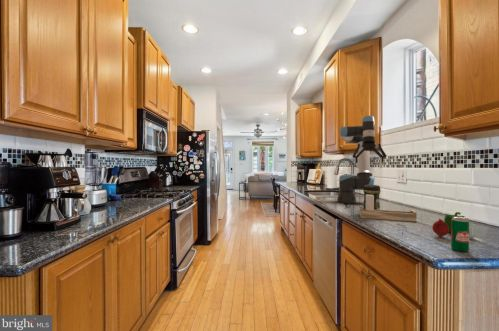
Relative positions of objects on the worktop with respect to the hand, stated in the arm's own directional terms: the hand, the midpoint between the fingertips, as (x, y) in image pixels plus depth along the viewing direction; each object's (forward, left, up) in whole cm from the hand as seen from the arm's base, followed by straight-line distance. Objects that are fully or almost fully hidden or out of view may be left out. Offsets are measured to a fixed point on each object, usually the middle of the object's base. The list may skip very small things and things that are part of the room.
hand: (369, 167), depth 163 cm
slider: (+16, -1, -27) cm, 31 cm away
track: (+16, +8, -29) cm, 34 cm away
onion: (+51, +23, -30) cm, 63 cm away
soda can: (+69, +23, -30) cm, 78 cm away
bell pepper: (+41, +32, -30) cm, 60 cm away
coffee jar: (+4, +1, -30) cm, 30 cm away
